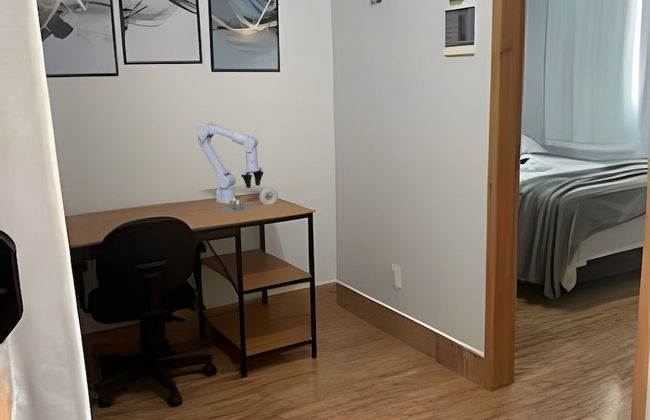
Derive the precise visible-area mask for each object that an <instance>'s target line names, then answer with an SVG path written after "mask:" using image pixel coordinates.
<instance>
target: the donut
mask: <svg viewBox="0 0 650 420" xmlns="http://www.w3.org/2000/svg"><path fill="white" fill-rule="evenodd" d="M267 195H270V196H271V198H270V199H267ZM258 199H259V201H260V204H261V205H263V206H264V205H265V206H266V205H275V204H277V202H278V201H279V194H278V191H277V190H276V189H275V188H273V187H265V188H263V189H261V191H260V193H259V197H258Z"/></svg>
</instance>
